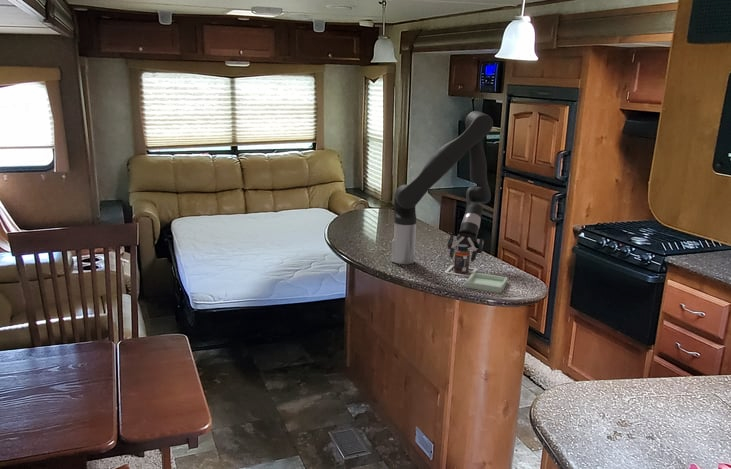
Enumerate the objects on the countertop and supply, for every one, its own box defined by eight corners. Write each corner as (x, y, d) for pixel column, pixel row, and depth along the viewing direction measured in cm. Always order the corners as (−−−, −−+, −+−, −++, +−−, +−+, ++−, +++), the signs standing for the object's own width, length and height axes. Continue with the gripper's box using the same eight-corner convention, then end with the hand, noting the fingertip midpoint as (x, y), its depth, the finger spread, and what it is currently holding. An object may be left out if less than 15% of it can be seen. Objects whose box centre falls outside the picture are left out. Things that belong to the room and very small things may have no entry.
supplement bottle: (468, 274, 233) (470, 247, 230) (453, 273, 234) (455, 246, 231) (468, 270, 239) (470, 244, 236) (454, 269, 240) (456, 242, 237)
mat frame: (443, 273, 233) (444, 272, 233) (451, 266, 243) (451, 264, 243) (471, 277, 229) (471, 276, 229) (477, 269, 239) (477, 268, 239)
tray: (464, 287, 217) (465, 282, 217) (473, 277, 229) (473, 272, 229) (500, 293, 212) (501, 287, 211) (507, 282, 224) (507, 277, 224)
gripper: (452, 219, 241) (443, 252, 234) (486, 223, 236) (478, 256, 228) (454, 229, 247) (446, 261, 240) (487, 233, 242) (479, 266, 234)
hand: (461, 259), depth 234 cm, fingers open, 8 cm apart
